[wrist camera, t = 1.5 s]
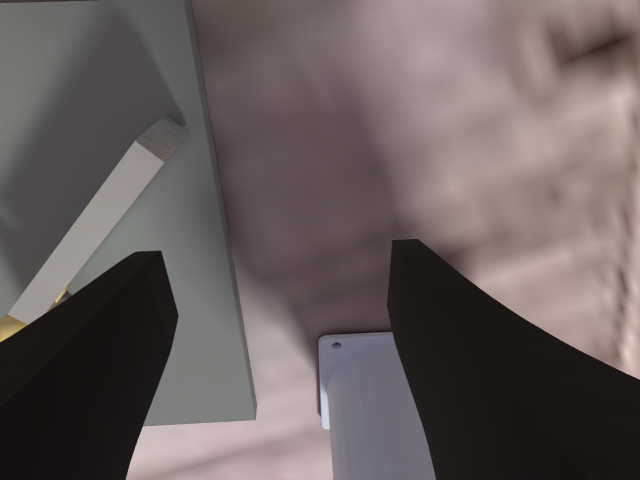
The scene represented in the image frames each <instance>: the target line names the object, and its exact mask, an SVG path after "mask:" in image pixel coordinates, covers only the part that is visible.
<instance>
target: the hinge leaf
mask: <svg viewBox="0 0 640 480" xmlns="http://www.w3.org/2000/svg"><path fill="white" fill-rule="evenodd" d="M188 133H189V132H188V131H186V130H185V129H184V128H183V127H181V126H180V125H179V124H178V123H176V122H175V121H174V120H173V119H171V118H170V117H169V116H168V115H166V114H164V115H163V116H162V117H161V118H160V119H159V120H158V121H157V122H155V123H154V124H153V125H152V126H151V127H150V128H149V129H148V130H146V131H145V132H144V133H143V134H142V135H141V136H140V137H139V138H137V139H136V140H135V141H134V143H133V144H132V145H131V147H130V148H129V150H128V151H127V152H126V154H125V155H124V156H123V158H122V159H121V160H120V162H119V163H118V164H117V166H116V167H115V169H114V170H113V171H112V173H111V174H110V175H109V177H108V178H107V179H106V181H105V182H104V184H103V185H102V186H101V188H100V189H99V190H98V192H97V193H96V194H95V196H94V197H93V198H92V200H91V201H90V203H89V204H88V205H87V207H86V208H85V209H84V211H83V212H82V213H81V215H80V216H79V218H78V219H77V220H76V222H75V223H74V224H73V226H72V227H71V228H70V230H69V231H68V232H67V234H66V235H65V237H64V238H63V239H62V241H61V242H60V243H59V245H58V246H57V247H56V249H55V250H54V252H53V253H52V254H51V256H50V257H49V258H48V260H47V261H46V262H45V264H44V265H43V266H42V268H41V269H40V271H39V272H38V273H37V275H36V276H35V277H34V279H33V280H32V281H31V283H30V284H29V286H28V287H27V288H26V290H25V291H24V292H23V294H22V295H21V296H20V298H19V299H18V300H17V302H16V303H15V305H14V306H13V307H12V309H11V310H10V311H9V313H8V314H7V315H9V316H11V317H13V318H15V319H18V320H20V321H22V322H24V323H26V324H30V323H31V322H33V321H34V320H36V319H37V318H39V317H40V316H42V315H43V314H45V313H47V312H48V311H50V310H51V309H52V308H53V307H54V306H55V303H56V302H55V300H56V299H57V298H58V297H59V295H60V294H61V293H62V292H63V290H64V289H65V288H66V287H67V285H68V284H69V283H70V282H71V280H72V279H73V278H74V277H75V275H76V274H77V273H78V271H79V270H80V269H81V268H82V266H83V265H84V264H85V263H86V261H87V260H88V259H89V258H90V256H91V255H92V254H93V253H94V251H95V250H96V249H97V247H98V246H99V245H100V244H101V242H102V241H103V240H104V239H105V237H106V236H107V235H108V234H109V232H110V231H111V230H112V229H113V227H114V226H115V225H116V223H117V222H118V221H119V220H120V218H121V217H122V216H123V215H124V213H125V212H126V211H127V210H128V208H129V207H130V206H131V205H132V203H133V202H134V201H135V199H136V198H137V197H138V196H139V194H140V193H141V192H142V191H143V189H144V188H145V187H146V186H147V184H148V183H149V182H150V181H151V179H152V178H153V177H154V175H155V174H156V173H157V172H158V170H159V169H160V168H161V167H162V165H163V164H164V163H165V162H166V160H167V159H168V158H169V157H170V155H171V154H172V153H173V151H174V150H175V149H176V148H177V146H178V145H179V144H180V143H181V141H182V140H183V139H184V138H185V136H186V135H187V134H188Z"/></svg>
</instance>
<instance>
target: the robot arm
mask: <svg viewBox="0 0 640 480" xmlns="http://www.w3.org/2000/svg"><path fill="white" fill-rule="evenodd" d="M387 307H388V312H389V318H390V323H391V328H392V332H379V333H359V334H339V335H325V336H322V337H321V338H320V339H319V342H318V346H319V374H320V402H321V425H322V427H323V428H325V429H330V439H331V453H332V467H333V480H640V380H639V379H637V378H635V377H633V376H630V375H628V374H626V373H624V372H622V371H620V370H618V369H615V368H613V367H611V366H609V365H607V364H605V363H603V362H601V361H599V360H597V359H595V358H593V357H591V356H589V355H587V354H585V353H583V352H581V351H579V350H578V349H576V348H574V347H572V346H570V345H568V344H566V343H565V342H563V341H561V340H559V339H557V338H556V337H554V336H552V335H551V334H549V333H547V332H545V331H544V330H542V329H540V328H539V327H537V326H535V325H533V324H532V323H530V322H528V321H527V320H525V319H524V318H522V317H520V316H519V315H517V314H516V313H514V312H513V311H511V310H510V309H508V308H507V307H505V306H504V305H502V304H501V303H500V302H498V301H497V300H495V299H494V298H492V297H491V296H489V295H488V294H487V293H485V292H484V291H483V290H481V289H480V288H478V287H477V286H476V285H474V284H473V283H472V282H471V281H469V280H468V279H467V278H465V277H464V276H463V275H462V274H460V273H459V272H458V271H456V270H455V269H454V268H453V267H451V266H450V265H449V264H448V263H447V262H445V261H444V260H443V259H442V258H440V257H439V256H438V255H437V254H436V253H434V252H433V251H432V250H431V249H430V248H428V247H427V246H426V245H425V244H423V243H422V242H421V241H419V240H418V239H409V240H393V241H392V253H391V265H390V277H389V290H388V302H387ZM178 317H179V314H178V311H177V307H176V303H175V300H174V296H173V292H172V289H171V285H170V281H169V277H168V274H167V270H166V266H165V263H164V259H163V255H162V252H161V250H159V251H137V252H134V253H132V254H131V255H129V256H127V257H126V258H124V259H123V260H121V261H120V262H118V263H117V264H115V265H114V266H112V267H111V268H110V269H108V270H107V271H105V272H104V273H103V274H101V275H100V276H98V277H97V278H96V279H94V280H93V281H91V282H90V283H89V284H87V285H86V286H84V287H83V288H82V289H80V290H79V291H77V292H76V293H75V294H73V295H72V296H70V297H69V298H67V299H66V300H65V301H63V302H62V303H60V304H59V305H57V306H56V307H54V308H53V309H51V310H50V311H48V312H47V313H45V314H43V315H42V316H40V317H39V318H37V319H36V320H34V321H33V322H31V323H30V324H28V325H27V326H25V327H24V328H22V329H21V330H19V331H18V332H16V333H14V334H13V335H11V336H10V337H8V338H6V339H5V340H3V341H1V342H0V480H126V476H127V472H128V469H129V465H130V461H131V458H132V455H133V452H134V449H135V446H136V443H137V440H138V438H139V435H140V432H141V430H142V427H143V425H144V422H145V419H146V417H147V414H148V411H149V409H150V406H151V404H152V401H153V398H154V396H155V393H156V391H157V388H158V385H159V383H160V380H161V377H162V375H163V372H164V369H165V367H166V364H167V361H168V358H169V355H170V353H171V349H172V345H173V340H174V336H175V332H176V327H177V322H178ZM336 342H338V343H339V344H334V343H336Z"/></svg>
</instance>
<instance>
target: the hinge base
mask: <svg viewBox="0 0 640 480" xmlns="http://www.w3.org/2000/svg"><path fill="white" fill-rule="evenodd" d="M164 114H166V115H168V116H169V117H170V118H171V119H173V120H174V121H175V122H176V123H178V124H179V125H180V126H181V127H183V128H184V129H185V130H186V131H188V132H189V133H188V134H187V135H186V136H185V138H184V139H183V140H182V141H181V143H180V144H179V145H178V146H177V148H176V149H175V150H174V151H173V153H172V154H171V155H170V157H169V158H168V159H167V160H166V162H165V163H164V164H163V165H162V167H161V168H160V169H159V170H158V172H157V173H156V174H155V175H154V177H153V178H152V179H151V181H150V182H149V183H148V184H147V186H146V187H145V188H144V189H143V191H142V192H141V193H140V194H139V196H138V197H137V198H136V199H135V201H134V202H133V203H132V205H131V206H130V207H129V208H128V210H127V211H126V212H125V213H124V215H123V216H122V217H121V218H120V220H119V221H118V222H117V223H116V225H115V226H114V227H113V229H112V230H111V231H110V232H109V234H108V235H107V236H106V237H105V239H104V240H103V241H102V242H101V244H100V245H99V246H98V247H97V249H96V250H95V251H94V253H93V254H92V255H91V256H90V258H89V259H88V260H87V261H86V263H85V264H84V265H83V266H82V268H81V269H80V270H79V271H78V273H77V274H76V275H75V277H74V278H73V279H72V280H71V282H70V283H69V284H68V285H67V287H66V288H65V289H64V290H63V292H62V293H61V294H60V295H59V297H58V298H57V299H56V300H55V302H56V303H55V306H54V307H56V306H57V305H59V304H60V303H62V302H63V301H65V300H66V299H67V298H69V297H70V296H72V295H73V294H75V293H76V292H77V291H79V290H80V289H82V288H83V287H84V286H86V285H87V284H89V283H90V282H91V281H93V280H94V279H96V278H97V277H98V276H100V275H101V274H103V273H104V272H105V271H107V270H108V269H110V268H111V267H112V266H114V265H115V264H117V263H118V262H120V261H121V260H123V259H124V258H126V257H127V256H129V255H131V254H132V253H134V252H137V251H159V250H161V252H162V255H163V259H164V263H165V266H166V270H167V274H168V277H169V281H170V285H171V289H172V292H173V296H174V300H175V303H176V307H177V311H178V314H179V317H178V322H177V327H176V332H175V336H174V340H173V345H172V349H171V353H170V355H169V358H168V361H167V364H166V367H165V369H164V372H163V375H162V377H161V380H160V383H159V385H158V388H157V391H156V393H155V396H154V398H153V401H152V404H151V406H150V409H149V411H148V414H147V417H146V419H145V422H144V425H143V426H157V425H175V424H193V423H211V422H229V421H247V420H256V410H257V403H256V397H255V391H254V385H253V379H252V373H251V366H250V360H249V354H248V348H247V342H246V336H245V330H244V324H243V317H242V311H241V305H240V299H239V293H238V287H237V281H236V274H235V268H234V262H233V256H232V250H231V244H230V238H229V232H228V225H227V219H226V213H225V207H224V201H223V195H222V189H221V183H220V176H219V170H218V164H217V158H216V152H215V146H214V140H213V134H212V127H211V121H210V115H209V109H208V103H207V97H206V91H205V84H204V78H203V72H202V66H201V60H200V54H199V48H198V42H197V35H196V29H195V23H194V17H193V11H192V5H191V0H95V1H59V2H22V3H0V342H1V341H3V340H5V339H6V338H8V337H10V336H11V335H13V334H14V333H16V332H18V331H19V330H21V329H22V328H24V327H25V326H27V325H28V324H26V323H24V322H22V321H20V320H18V319H15V318H13V317H11V316H9V315H7V314H8V313H9V311H10V310H11V309H12V307H13V306H14V305H15V303H16V302H17V300H18V299H19V298H20V296H21V295H22V294H23V292H24V291H25V290H26V288H27V287H28V286H29V284H30V283H31V281H32V280H33V279H34V277H35V276H36V275H37V273H38V272H39V271H40V269H41V268H42V266H43V265H44V264H45V262H46V261H47V260H48V258H49V257H50V256H51V254H52V253H53V252H54V250H55V249H56V247H57V246H58V245H59V243H60V242H61V241H62V239H63V238H64V237H65V235H66V234H67V232H68V231H69V230H70V228H71V227H72V226H73V224H74V223H75V222H76V220H77V219H78V218H79V216H80V215H81V213H82V212H83V211H84V209H85V208H86V207H87V205H88V204H89V203H90V201H91V200H92V198H93V197H94V196H95V194H96V193H97V192H98V190H99V189H100V188H101V186H102V185H103V184H104V182H105V181H106V179H107V178H108V177H109V175H110V174H111V173H112V171H113V170H114V169H115V167H116V166H117V164H118V163H119V162H120V160H121V159H122V158H123V156H124V155H125V154H126V152H127V151H128V150H129V148H130V147H131V145H132V144H133V143H134V141H135V140H136V139H137V138H139V137H140V136H141V135H142V134H143V133H144V132H145V131H146V130H148V129H149V128H150V127H151V126H152V125H153V124H154V123H155V122H157V121H158V120H159V119H160V118H161V117H162V116H163V115H164ZM54 307H53V308H54ZM53 308H52V309H53Z"/></svg>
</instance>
